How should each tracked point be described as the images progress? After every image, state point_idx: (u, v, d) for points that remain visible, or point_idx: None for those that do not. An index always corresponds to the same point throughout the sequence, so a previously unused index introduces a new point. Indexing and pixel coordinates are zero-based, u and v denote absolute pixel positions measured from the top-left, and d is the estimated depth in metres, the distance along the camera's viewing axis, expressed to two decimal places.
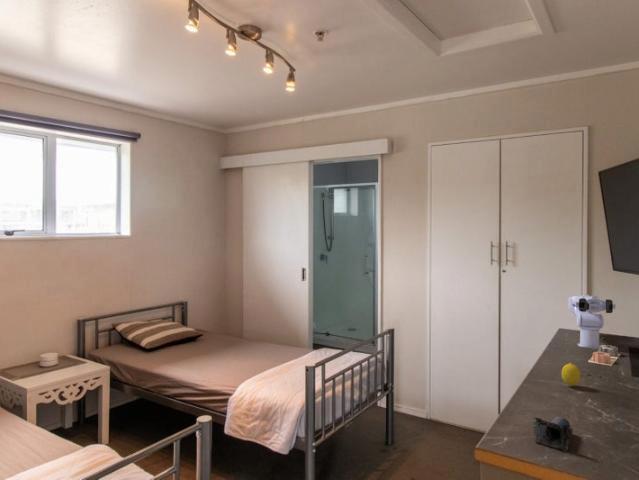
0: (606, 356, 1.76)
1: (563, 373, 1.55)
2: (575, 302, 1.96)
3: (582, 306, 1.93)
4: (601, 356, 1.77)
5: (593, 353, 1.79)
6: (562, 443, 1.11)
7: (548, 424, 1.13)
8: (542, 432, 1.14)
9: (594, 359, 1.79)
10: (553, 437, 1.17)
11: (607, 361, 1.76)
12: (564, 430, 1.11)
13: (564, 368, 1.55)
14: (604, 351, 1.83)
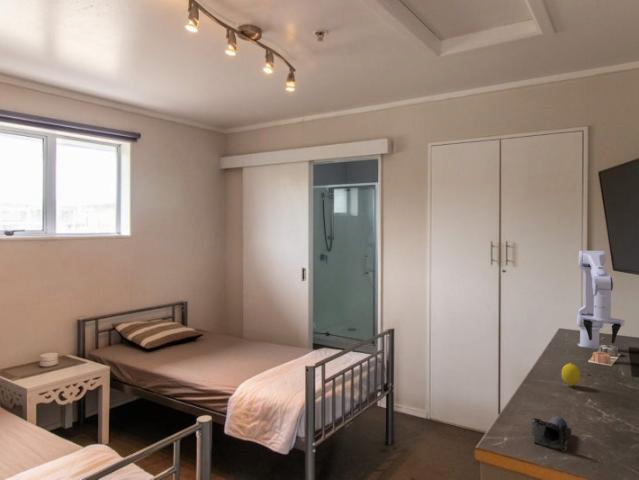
0: (606, 356, 1.76)
1: (563, 373, 1.55)
2: (580, 318, 1.83)
3: None
4: (601, 356, 1.77)
5: (593, 353, 1.79)
6: (561, 443, 1.11)
7: (547, 424, 1.13)
8: (541, 432, 1.13)
9: (594, 359, 1.79)
10: (551, 437, 1.17)
11: (607, 361, 1.76)
12: (563, 430, 1.11)
13: (564, 368, 1.55)
14: (604, 351, 1.83)
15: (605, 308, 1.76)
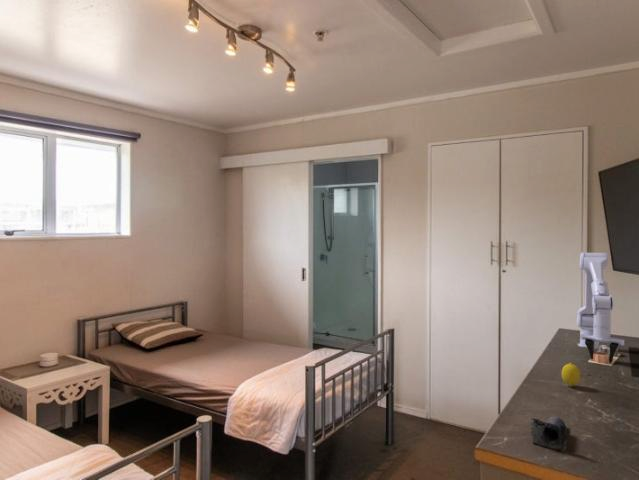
0: (606, 356, 1.76)
1: (563, 373, 1.55)
2: (580, 336, 1.83)
3: None
4: (601, 356, 1.77)
5: (593, 353, 1.79)
6: (560, 443, 1.11)
7: (546, 425, 1.13)
8: (540, 433, 1.13)
9: (594, 359, 1.79)
10: (550, 437, 1.17)
11: (607, 361, 1.76)
12: (562, 430, 1.11)
13: (564, 368, 1.55)
14: (604, 351, 1.83)
15: (605, 327, 1.76)
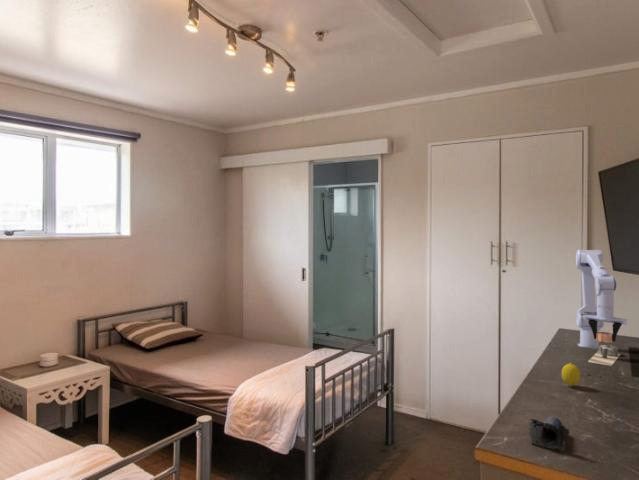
0: (609, 335, 1.81)
1: (563, 373, 1.55)
2: (584, 317, 1.87)
3: None
4: (604, 335, 1.81)
5: (596, 333, 1.84)
6: (558, 444, 1.11)
7: (544, 425, 1.12)
8: (538, 433, 1.13)
9: (597, 339, 1.84)
10: (547, 437, 1.17)
11: (610, 340, 1.81)
12: (560, 431, 1.11)
13: (564, 368, 1.55)
14: (604, 351, 1.83)
15: (608, 307, 1.80)
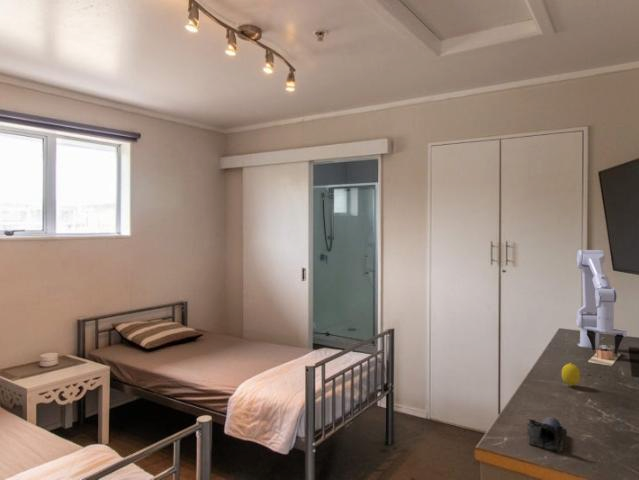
0: (609, 353, 1.81)
1: (563, 373, 1.55)
2: (584, 328, 1.88)
3: None
4: (604, 353, 1.82)
5: (596, 350, 1.84)
6: (556, 444, 1.10)
7: (542, 425, 1.12)
8: (536, 434, 1.13)
9: (597, 355, 1.84)
10: (545, 437, 1.17)
11: (610, 357, 1.81)
12: (558, 431, 1.11)
13: (564, 368, 1.55)
14: None
15: (608, 319, 1.81)
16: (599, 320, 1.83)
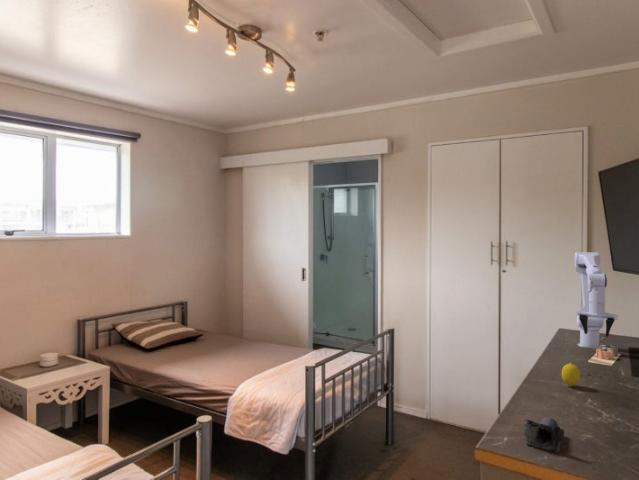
0: (609, 353, 1.81)
1: (563, 373, 1.55)
2: None
3: None
4: (604, 353, 1.82)
5: (596, 350, 1.84)
6: (554, 445, 1.10)
7: (539, 426, 1.12)
8: (533, 434, 1.13)
9: (597, 355, 1.84)
10: (543, 438, 1.17)
11: (610, 357, 1.81)
12: (555, 431, 1.10)
13: (564, 368, 1.55)
14: None
15: (599, 303, 1.86)
16: (591, 304, 1.88)
